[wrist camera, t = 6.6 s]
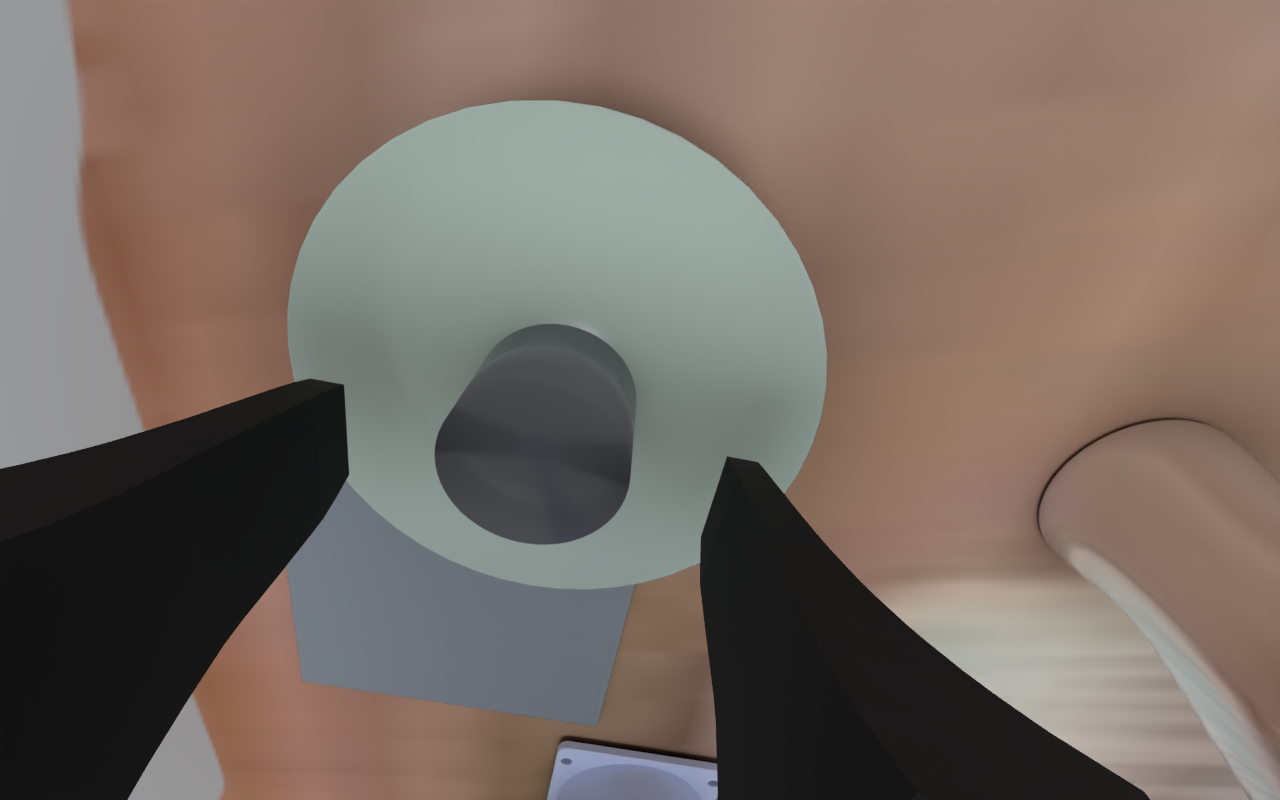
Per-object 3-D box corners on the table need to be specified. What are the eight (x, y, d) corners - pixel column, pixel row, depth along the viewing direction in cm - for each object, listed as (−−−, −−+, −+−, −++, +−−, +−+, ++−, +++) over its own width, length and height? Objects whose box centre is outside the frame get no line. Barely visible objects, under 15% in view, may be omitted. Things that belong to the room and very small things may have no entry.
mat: (597, 720, 26) (596, 726, 26) (306, 674, 25) (302, 680, 25) (657, 496, 20) (657, 501, 19) (273, 426, 19) (268, 431, 19)
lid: (738, 603, 17) (755, 715, 14) (322, 533, 16) (243, 635, 13) (908, 173, 11) (999, 202, 8) (273, 34, 10) (114, 10, 7)
